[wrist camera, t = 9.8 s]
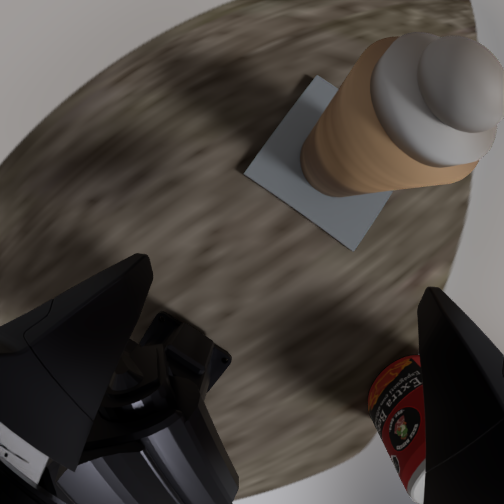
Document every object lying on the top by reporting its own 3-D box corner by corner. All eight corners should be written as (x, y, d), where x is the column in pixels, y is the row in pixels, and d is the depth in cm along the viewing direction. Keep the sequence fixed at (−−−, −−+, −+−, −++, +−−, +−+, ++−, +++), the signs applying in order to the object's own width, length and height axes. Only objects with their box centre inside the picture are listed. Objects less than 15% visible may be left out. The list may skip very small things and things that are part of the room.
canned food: (395, 340, 21) (468, 417, 11) (453, 363, 22) (522, 425, 11) (347, 413, 22) (384, 507, 12) (410, 427, 23) (455, 501, 12)
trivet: (350, 250, 21) (353, 251, 20) (244, 175, 20) (243, 173, 19) (411, 152, 19) (416, 151, 19) (315, 79, 19) (316, 75, 18)
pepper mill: (342, 212, 19) (521, 227, 4) (284, 164, 19) (352, 39, 4) (383, 159, 19) (562, 97, 4) (329, 111, 18) (440, -40, 3)
